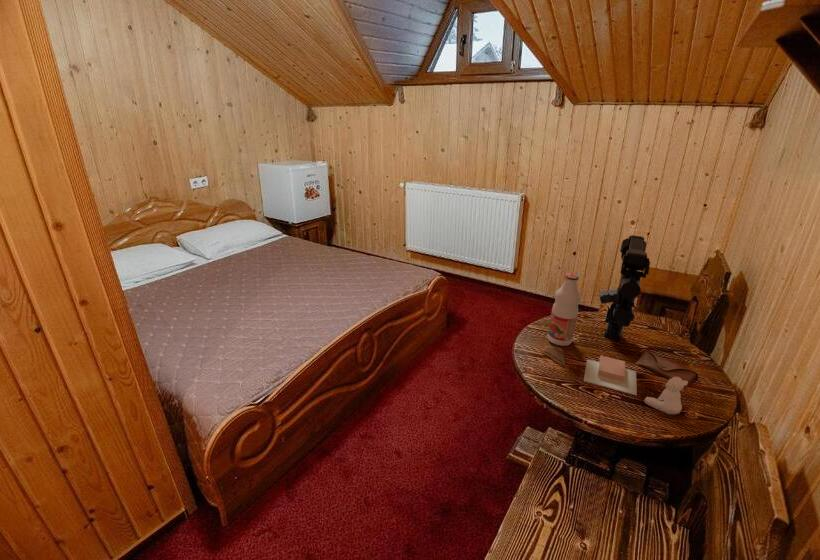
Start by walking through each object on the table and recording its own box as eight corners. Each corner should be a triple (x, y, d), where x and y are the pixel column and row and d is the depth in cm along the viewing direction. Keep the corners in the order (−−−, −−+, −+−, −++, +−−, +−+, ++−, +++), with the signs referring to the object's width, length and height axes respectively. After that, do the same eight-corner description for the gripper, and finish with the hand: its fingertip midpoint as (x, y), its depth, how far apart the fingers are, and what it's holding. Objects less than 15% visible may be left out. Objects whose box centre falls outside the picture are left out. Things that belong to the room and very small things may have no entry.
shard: (564, 368, 144) (565, 364, 143) (541, 364, 146) (542, 359, 145) (563, 352, 153) (563, 348, 153) (542, 348, 155) (542, 344, 155)
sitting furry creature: (665, 396, 130) (675, 364, 125) (689, 413, 122) (701, 381, 118) (642, 401, 127) (651, 370, 122) (665, 420, 120) (677, 387, 115)
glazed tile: (600, 355, 146) (598, 369, 137) (625, 361, 142) (624, 376, 134) (599, 361, 147) (597, 375, 138) (623, 367, 143) (623, 382, 135)
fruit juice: (575, 346, 156) (589, 280, 145) (550, 345, 156) (562, 279, 145) (567, 334, 164) (580, 270, 153) (544, 333, 165) (555, 270, 154)
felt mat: (586, 360, 148) (587, 359, 147) (635, 372, 141) (636, 371, 141) (583, 381, 136) (583, 380, 136) (636, 395, 130) (636, 394, 129)
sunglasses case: (632, 363, 146) (641, 347, 146) (638, 366, 151) (646, 350, 151) (687, 389, 133) (696, 371, 133) (691, 391, 138) (700, 374, 137)
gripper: (604, 274, 152) (596, 310, 158) (602, 292, 136) (593, 332, 143) (637, 279, 147) (628, 317, 154) (639, 299, 132) (628, 340, 138)
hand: (618, 326), depth 147 cm, fingers closed
